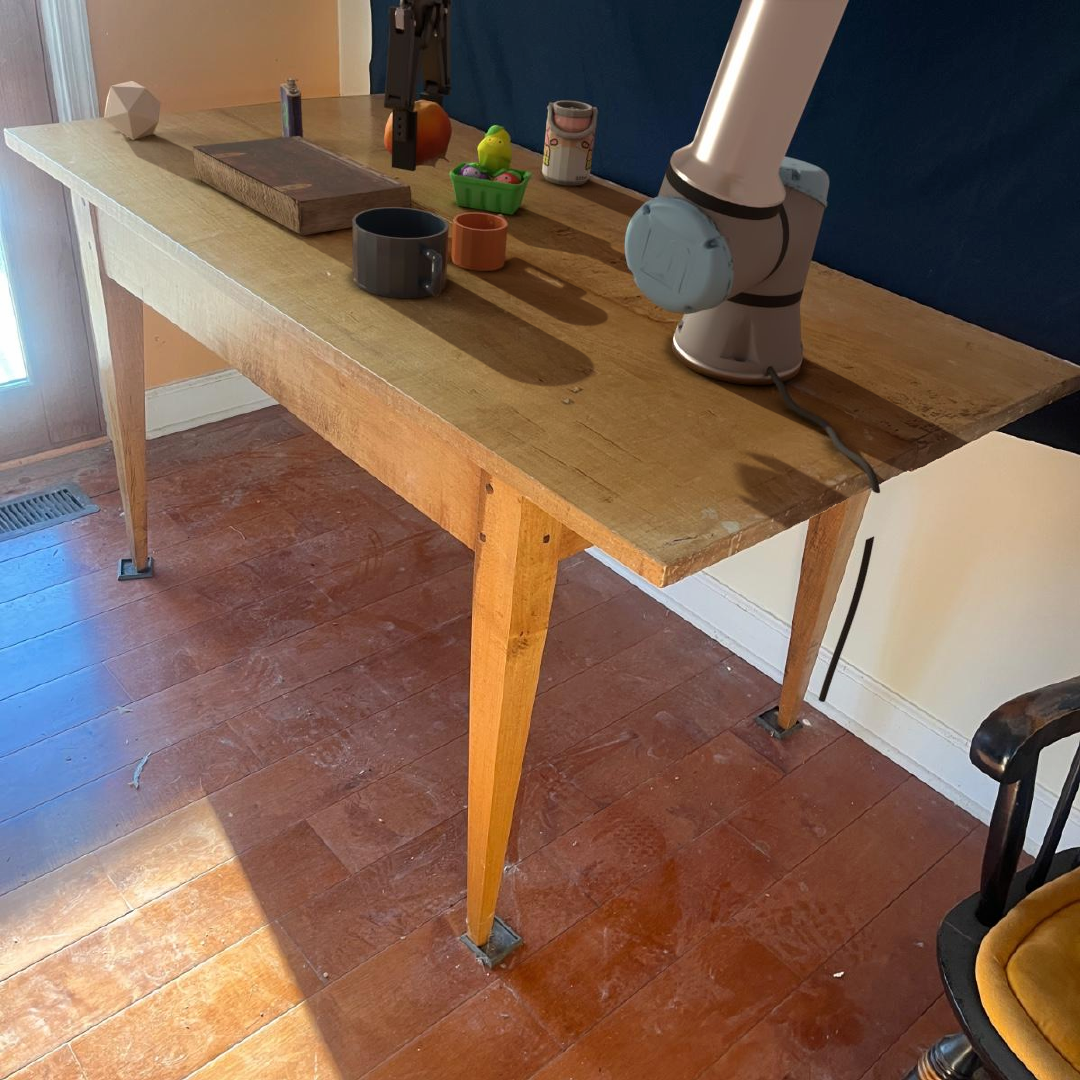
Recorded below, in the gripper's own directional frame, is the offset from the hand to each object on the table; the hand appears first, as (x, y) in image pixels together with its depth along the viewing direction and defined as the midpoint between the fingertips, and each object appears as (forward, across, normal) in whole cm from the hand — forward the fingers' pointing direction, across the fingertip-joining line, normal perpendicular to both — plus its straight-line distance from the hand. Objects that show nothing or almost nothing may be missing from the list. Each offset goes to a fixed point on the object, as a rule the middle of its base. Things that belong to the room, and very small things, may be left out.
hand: (416, 159), depth 123 cm
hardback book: (+16, -23, -26) cm, 39 cm away
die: (+16, -39, -64) cm, 77 cm away
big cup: (+15, +1, 0) cm, 16 cm away
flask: (+16, -49, -40) cm, 65 cm away
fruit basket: (+16, -36, -1) cm, 39 cm away
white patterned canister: (+16, -56, +7) cm, 58 cm away
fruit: (0, 0, 0) cm, 0 cm away
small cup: (+15, -13, +5) cm, 21 cm away
